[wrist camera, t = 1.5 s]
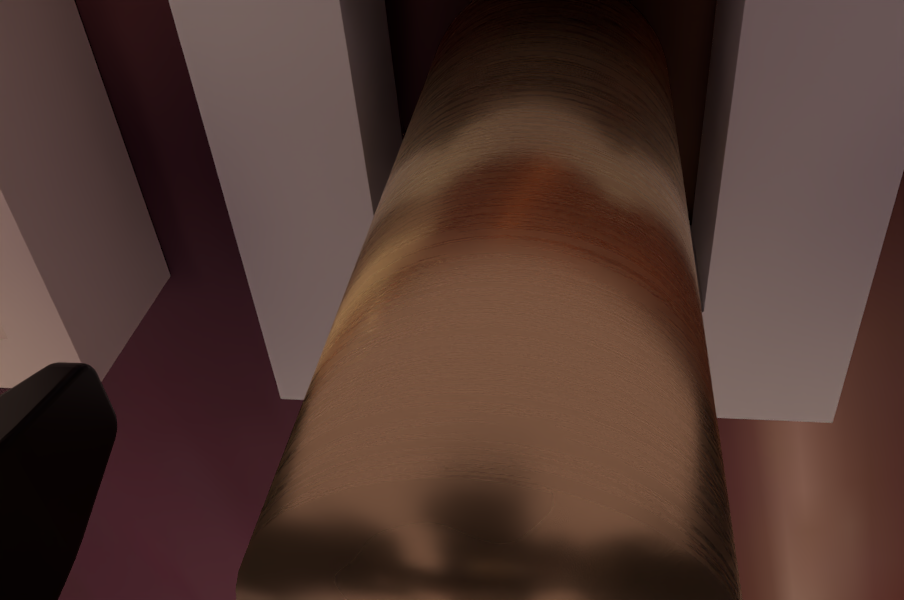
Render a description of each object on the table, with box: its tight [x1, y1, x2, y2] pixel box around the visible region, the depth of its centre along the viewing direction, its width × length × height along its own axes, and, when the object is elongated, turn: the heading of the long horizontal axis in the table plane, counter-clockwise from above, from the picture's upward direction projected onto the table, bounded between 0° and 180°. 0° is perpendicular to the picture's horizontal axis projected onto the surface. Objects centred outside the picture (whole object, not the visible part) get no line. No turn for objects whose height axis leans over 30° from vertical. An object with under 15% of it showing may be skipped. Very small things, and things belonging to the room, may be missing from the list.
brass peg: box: [236, 0, 742, 600], centre depth 11 cm, size 4×4×10 cm
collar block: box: [169, 0, 904, 423], centre depth 13 cm, size 10×10×2 cm
